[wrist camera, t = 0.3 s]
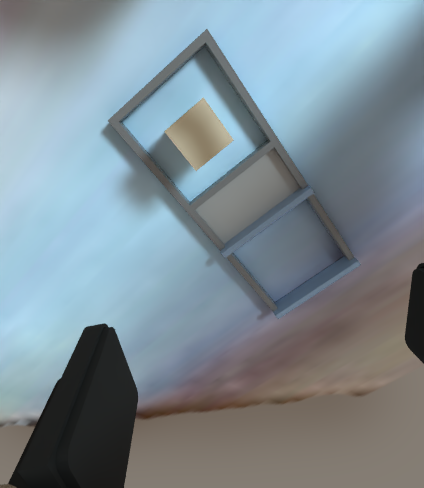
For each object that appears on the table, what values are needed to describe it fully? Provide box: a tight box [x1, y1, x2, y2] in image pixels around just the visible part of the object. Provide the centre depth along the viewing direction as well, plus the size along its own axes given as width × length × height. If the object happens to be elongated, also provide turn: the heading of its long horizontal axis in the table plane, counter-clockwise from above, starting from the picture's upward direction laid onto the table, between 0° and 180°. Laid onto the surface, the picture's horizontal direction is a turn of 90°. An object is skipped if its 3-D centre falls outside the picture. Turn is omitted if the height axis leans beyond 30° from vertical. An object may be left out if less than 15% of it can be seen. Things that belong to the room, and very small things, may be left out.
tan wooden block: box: [164, 98, 233, 171], centre depth 31 cm, size 4×4×8 cm
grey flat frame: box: [108, 29, 361, 319], centre depth 37 cm, size 14×34×2 cm, turn 38°
